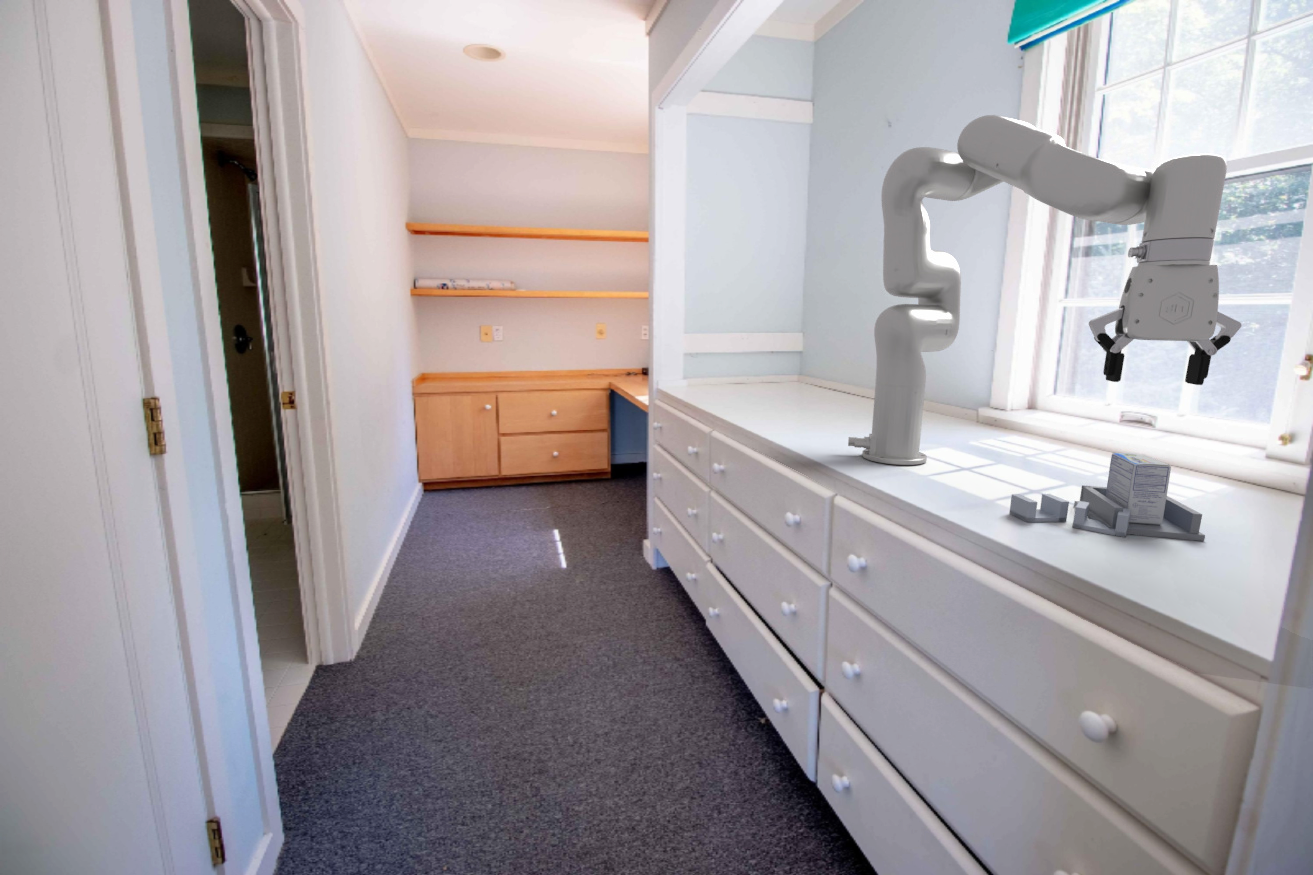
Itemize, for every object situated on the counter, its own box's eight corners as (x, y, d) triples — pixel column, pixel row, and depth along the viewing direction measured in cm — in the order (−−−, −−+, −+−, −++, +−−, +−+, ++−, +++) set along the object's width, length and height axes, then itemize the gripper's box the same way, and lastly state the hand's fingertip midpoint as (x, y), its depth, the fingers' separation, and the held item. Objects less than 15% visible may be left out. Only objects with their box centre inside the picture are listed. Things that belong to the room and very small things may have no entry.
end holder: (1108, 532, 85) (1112, 508, 84) (1074, 505, 97) (1077, 484, 97) (1204, 541, 82) (1208, 515, 81) (1156, 512, 94) (1159, 490, 94)
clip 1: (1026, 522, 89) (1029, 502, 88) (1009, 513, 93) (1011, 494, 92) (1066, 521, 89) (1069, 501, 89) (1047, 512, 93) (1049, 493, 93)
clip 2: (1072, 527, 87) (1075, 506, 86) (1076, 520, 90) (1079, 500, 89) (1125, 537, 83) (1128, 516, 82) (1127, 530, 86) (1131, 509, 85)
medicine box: (1162, 526, 85) (1173, 465, 84) (1125, 523, 86) (1135, 463, 85) (1136, 509, 93) (1146, 453, 91) (1102, 507, 94) (1111, 451, 92)
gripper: (1111, 254, 82) (1092, 382, 85) (1271, 252, 77) (1244, 388, 80) (1089, 259, 89) (1072, 377, 92) (1235, 257, 84) (1211, 382, 87)
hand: (1152, 382), depth 86 cm, fingers open, 9 cm apart
